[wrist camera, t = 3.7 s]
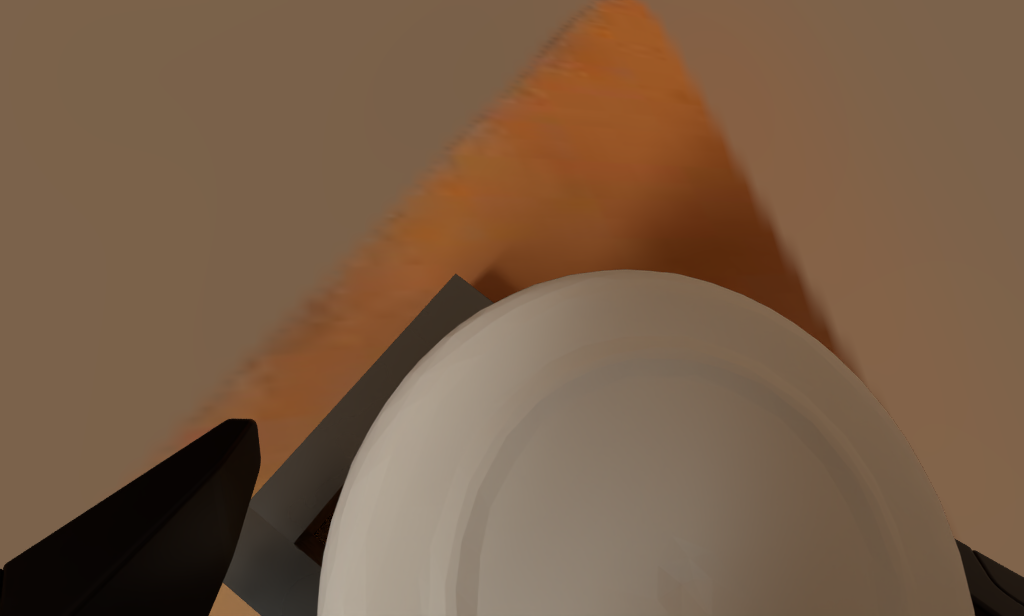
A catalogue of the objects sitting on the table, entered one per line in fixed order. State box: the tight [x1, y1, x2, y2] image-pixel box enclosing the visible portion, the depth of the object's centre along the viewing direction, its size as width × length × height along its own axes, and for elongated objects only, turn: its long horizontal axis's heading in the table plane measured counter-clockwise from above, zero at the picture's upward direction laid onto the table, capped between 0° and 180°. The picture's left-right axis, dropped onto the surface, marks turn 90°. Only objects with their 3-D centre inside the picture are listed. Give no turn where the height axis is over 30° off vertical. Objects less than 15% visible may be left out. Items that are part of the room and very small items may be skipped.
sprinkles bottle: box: [317, 269, 975, 616], centre depth 9 cm, size 5×5×14 cm
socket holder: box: [223, 274, 494, 616], centre depth 14 cm, size 10×10×2 cm
